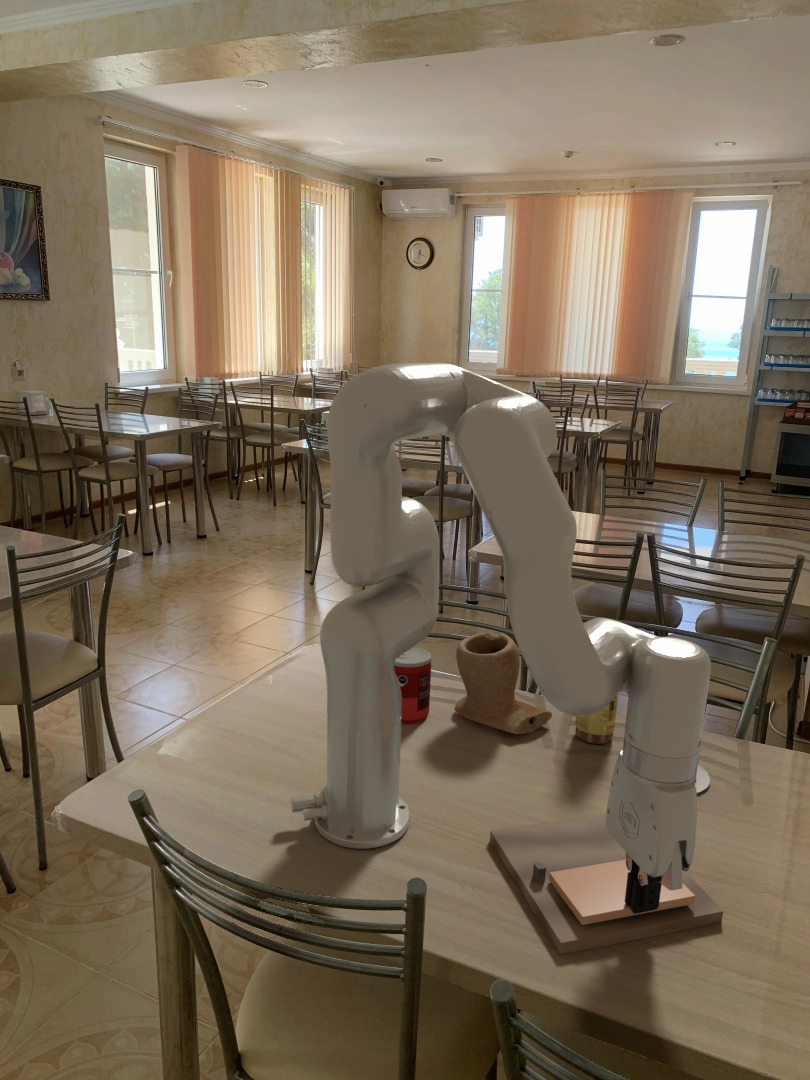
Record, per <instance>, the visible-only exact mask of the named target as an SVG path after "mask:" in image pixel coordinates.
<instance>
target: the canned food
mask: <svg viewBox="0 0 810 1080" xmlns="http://www.w3.org/2000/svg"><path fill="white" fill-rule="evenodd" d="M431 653H432V652H431ZM431 653H430V651H428V650H427V649H424V648H421V647H419V646H415V647H413V648H411V649H410V650H408V651H407V652H405V653H404V654H402V655H401V656H399V657H398V658H397V659H396V660H395V663H394V671H395V675H396V677H397V680H398V682H399V685H400V689H401V698H402V710H401V713H402V716H401V725H411V724H414V725H415V724H418V723H421V722H423V721H424V720H426V719H427V718H428V715H429V712H430V704H431V703H430V700H431V698H430V697H431V681H432V680H431V679H432V677H431V676H432V659H433V658H432V654H431Z"/></svg>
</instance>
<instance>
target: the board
mask: <svg viewBox="0 0 810 1080" xmlns="http://www.w3.org/2000/svg"><path fill="white" fill-rule="evenodd" d="M489 833H490V834H489V842H490V843H491V845H492V847H493V849H494V850H495V852H496V853H497V855H498V857H499V858H500V860H501V862H502V863H503V865H504V866H505V868H506V870H507V871H508V873H509V874H510V876H511V878H512V879H513V881H514V882H515V884H516V886H517V888H518V889H519V891H520V893H521V895H523V897H524V899H525V900H526V902H527V904H528V905H529V907H530V908H531V910H532V912H533V913H534V916H536V918H537V919H538V922H539V923H540V925H541V926H542V928H543V929H544V931H545V933H546V934H547V936H548V937H549V939H550V941H551V942H552V944H553V946H554V947H555V949H556V950H557V951H556V952H557V953H559V955H566V954H571V953H577V952H580V951H587V950H592V949H596V948H600V947H607V946H611V945H617V944H622V943H626V942H631V941H635V940H641V939H646V938H652V937H656V936H661V935H666V934H671V933H675V932H682V931H686V930H692V929H697V928H701V927H707V926H712V925H715V924H716V925H717V924H722V922H723V915H724V910H723V909H722V908H721V907H720V906H719V905H718V903H716V902H715V900H714V899H712V898H711V897H710V896H709V894H708V893H707V892H706V891H705V890H704V889H703V888H702V887H701V886H700V885H699V884H698V883H697V882H696V881H695V879H694V878H693V877H692V876H691V875H690V874H689V873H688V871H683V870H682V883H683V884H684V885H685V886H686V887H687V888H688V889H689V890H690V891H691V892H692V893H693V894H694V895H695V903H694V904H691V905H686V906H680V907H675V908H670V909H665V910H659V911H654V912H649V913H644V914H638V915H633V916H628V917H623V918H617V919H612V920H607V921H602V922H596V923H591V924H586V925H582V924H581V923H580V921H579V920H578V919H577V917H576V916H575V915H574V913H573V912H572V911H571V909H570V908H569V907H568V905H567V904H566V902H565V901H564V900H563V898H562V897H561V896H560V894H559V893H558V892H557V890H556V889H555V887H554V886H553V885H552V883H551V882H550V881H549V873H550V872H555V871H561V870H567V869H573V868H579V867H585V866H591V865H597V864H602V863H608V862H614V861H620V860H626V851H625V850H624V849H623V848H622V847H621V845H620V844H619V843H618V842H617V841H616V840H615V838H614V837H613V836H612V835H611V833H610V832H609V830H608V829H607V826H606V812H605V813H600V814H593V815H587V816H580V817H573V818H567V819H560V820H553V821H547V822H540V823H532V824H526V825H525V824H524V825H521V826H513V827H507V828H501V829H500V828H499V829H492V830H490V832H489Z"/></svg>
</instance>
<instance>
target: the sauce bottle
mask: <svg viewBox="0 0 810 1080" xmlns="http://www.w3.org/2000/svg"><path fill="white" fill-rule="evenodd" d="M598 618H599V617H594V618H593V619H598ZM605 618H606V619H610V618H607V617H605ZM593 619H591V620H593ZM618 697H619V692H618V693H617V695H616V696H615V697H614V698H613V699H612V701H611V702H610V703H609V704H608V705H607V706H606V707H605V708H604V709H603V710H601V711H600V712H598V713H596V714H594V715H591V716H586V717H575V722H574V723H575V734H576V737H578V738H579V739H580V740H581V741H583V742H586V743H588V744H595V745H603V744H607V743H609V742H610V741H612V739H613V735H614V731H615V728H616V727H615V726H616V718H617V708H618V699H619V698H618Z"/></svg>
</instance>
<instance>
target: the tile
mask: <svg viewBox="0 0 810 1080" xmlns="http://www.w3.org/2000/svg"><path fill="white" fill-rule="evenodd" d="M628 872H630V871H629V870H628V869H627V867H626V860H620V861H614V862H608V863H602V864H597V865H591V866H585V867H579V868H573V869H567V870H561V871H555V872H550V873H549V881H550V882H551V883H552V885H553V886H554V887H555V889H556V890H557V892H558V893H559V894H560V896H561V897H562V898H563V900H564V901H565V902H566V904H567V905H568V907H569V908H570V909H571V911H572V912H573V913H574V915H575V916H576V917H577V919H578V920H579V921H580V923H581V924H582V925H586V924H591V923H596V922H602V921H607V920H612V919H617V918H623V917H628V916H633V915H638V914H644V913H649V912H654V911H659V910H665V909H670V908H675V907H680V906H686V905H691V904H694V903H695V895H694V894H693V893H692V892H691V891H690V890H689V889H688V888H687V887H686V886H685V885H684V884H683V883H682V885H683V886H682V888H681V889H676V890H669V889H667V888H666V887H665V886H663V885H661V893H660V900H659V907H658V908H657V909H656V910H652V911H647V912H641V913H636V914H634V913H633V912H632V911H631V909H630V906H627V904H626V903H625V894H626V885H627V877H628Z"/></svg>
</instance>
